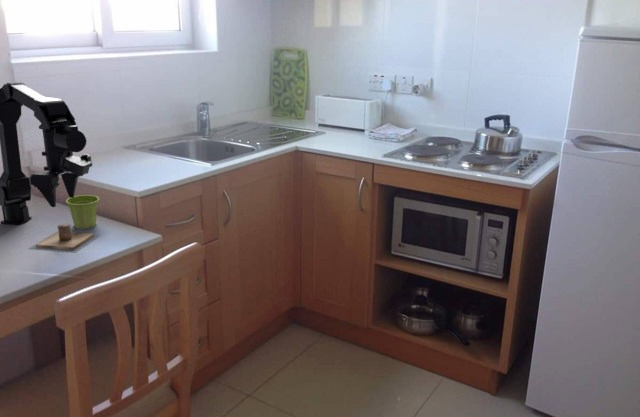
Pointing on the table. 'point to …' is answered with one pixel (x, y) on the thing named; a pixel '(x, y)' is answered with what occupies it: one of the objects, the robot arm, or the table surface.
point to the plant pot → (83, 210)
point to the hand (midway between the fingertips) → (62, 202)
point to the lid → (65, 239)
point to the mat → (64, 249)
